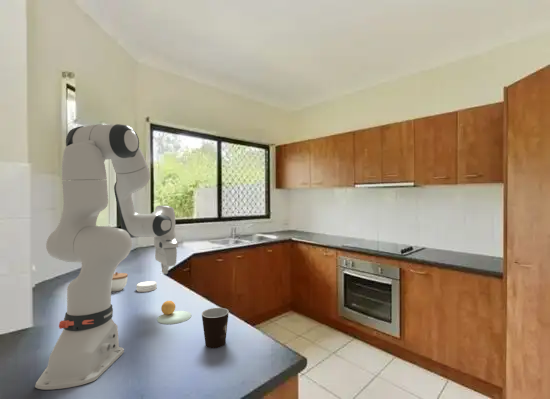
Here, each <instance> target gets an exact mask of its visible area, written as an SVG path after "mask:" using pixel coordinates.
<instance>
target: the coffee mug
mask: <svg viewBox="0 0 550 399" xmlns="http://www.w3.org/2000/svg"><path fill="white" fill-rule="evenodd" d="M229 311H230V310H229V309H227V308H226V307H225V308H223V307H211V308H208V309H205V310H204V311H202V312H201V318H202V328H203V336H204V337H203V338H204V342H205V343H204V344H205V347H206V348H208V349H219V348H222V347H224V346H225V345H226V340H227V332H228V323H229V322H228V321H229Z"/></svg>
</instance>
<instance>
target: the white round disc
mask: <svg viewBox="0 0 550 399" xmlns="http://www.w3.org/2000/svg"><path fill="white" fill-rule="evenodd" d="M157 286H158V285H157V281H154V280H148V281H141V282H139V283H137V284H136V291H137V292H139V293H146V292H147V293H148V292H152V291H155V290H157V288H158V287H157Z"/></svg>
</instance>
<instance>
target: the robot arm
mask: <svg viewBox="0 0 550 399" xmlns="http://www.w3.org/2000/svg"><path fill="white" fill-rule="evenodd" d="M65 145H66V147H65V148H64V150H63V155H62V164H61V180H62V181H61V182H62V183H61V184H62V197H63V198H62V199H63V200H62V201H63V203H62V204H63V205H62V213H61V218H60V220H59V223H58V225H57V227H56V228H55V230H54V231H52V232H51V233H50V235H49V236H48V238H47V240H46V243H45V245H46V251H47V253H48V254H49V256H51V257H52V258H53V259H56V260H59V261H63V262H66V263H81V267H80V271H79V274H78V275H77V277H75V278H74V279H72V280H71V281H70V282H69V284H68V285H67V288H66V290H67V291H66V312H65V315H64V318H63V320H59V323H58V329H62V331H61V333H60V335H59V337H58V339H57V341H56V343H55V345H54V347H53V349H52V351H51V353H50V354H49V357H48V362H47V367H46V368H45V369H44V371H43V372H42V373H41V374H40V376H39V378H38V379H37V381H36V382H35V385H34V388H36V389H38V390H44V391H45V390H48V391H49V390H61V389H68V388H74V387H79V386H82V385H86V384H89V383H91V382H94V381H96V380H97V379H98V378H99V377H101V375H103V374H104V372H106V371H107V370H108V369H109V368H110V367H111V366H112V365H113V364H114V363H115V362H116V361H117V360H118V359H119V358H120V357H121V356H122V355H123V354H124V353H125V349H124V348H123V347H121V346H120V345H119V344H120V343H119V329H118V328H119V327H118V324H117V323H116V322H115V321H114V320H113V316H114V315H113V312H114V308H113V304H112V291H111V285H112V278H113V275H114V274H115V272H116V270H117V268H118V266H119V265H120V263H121V262H122V261H124V260H125V259H126V258H127V257H128V256H129V254H130V252H131V249H132V248H133V247H132V246H133V240H132V238H135V239H136V238H153V239H154V240H153V244H154V245H153V246H154V248H155V253H154V254H155V261H157V262H159V263H160V266H161V272H162V274H164V275H167V274H168V273H169V268H170V267H174V266H176V264H177V258H178V252H177V251H178V249H177V248H178V247H179V243H178V241H177V239H176V232H175V228H176V214H175V209H174V207H172V206H170V205H163V204H161V205H157V206H156V207H155V209H154V211H153V212H151V213H138V212H136V211H135V207H134V203H133V197H132V194H133V193H136V192H138V191H140V190H142V189H143V188H145V187H146V186H147V185H148V184H149V182H150V180H151V179H150V178H151V173H150V168H149V166H148V162H147V161H146V157H145V155H144V153H143V151H142V149H141V147H140V139H139V135H138V133H137V132H136V131H135V130H134V129H133V127H131V126H129V125H126V124H120V123H119V124H118V123H116V124H90V125H85V126H84V125H81V126H76V127H74V128H72V129H71V130H69V131H68V133H67V135H66V140H65ZM106 160H110V161H111V163H112V167H113V169H114V172H115V175H116V182H115V183H114V185H113V190H114V197H115V201H116V205H117V208H118V214H119V217H120V227H121V228H118V227H114V226H111V225H110V226H107V225H106V226H101V225H99V226H98V225H97V219H98V216H99V214H100V213H101V212H102V211H104V210H106V208H107V207H108V204H109V198H108V197H109V196H108V191H109V190H108V181H107V170H106V165H105V162H106Z"/></svg>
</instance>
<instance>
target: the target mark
mask: <svg viewBox="0 0 550 399" xmlns="http://www.w3.org/2000/svg"><path fill="white" fill-rule="evenodd" d="M191 318H192V313H191V312H190V311H186V310H174V312H173V313H172V314H170V315H165V314H164V313H163V314H161V315H160V316H158V317H157V320H156V321H157V323H160V324H162V325H175V324H179V323H180V324H181V323H183V322H186V321H188V320H190V319H191Z"/></svg>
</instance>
